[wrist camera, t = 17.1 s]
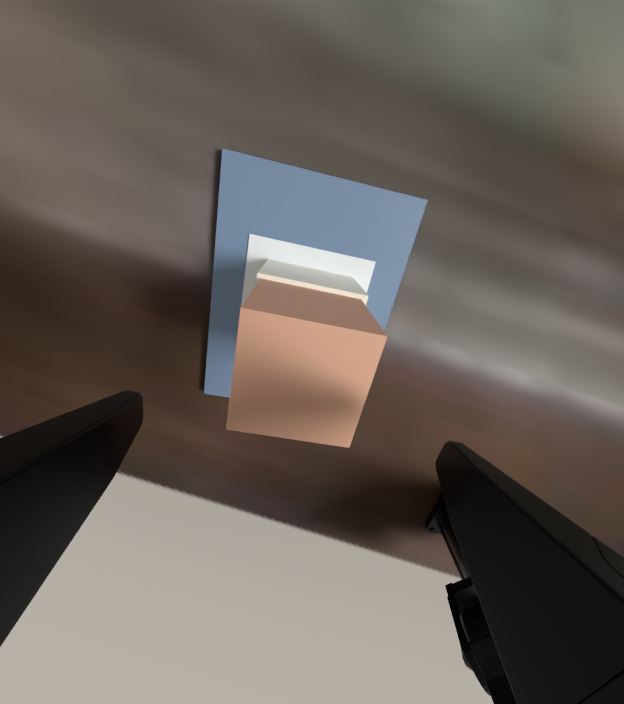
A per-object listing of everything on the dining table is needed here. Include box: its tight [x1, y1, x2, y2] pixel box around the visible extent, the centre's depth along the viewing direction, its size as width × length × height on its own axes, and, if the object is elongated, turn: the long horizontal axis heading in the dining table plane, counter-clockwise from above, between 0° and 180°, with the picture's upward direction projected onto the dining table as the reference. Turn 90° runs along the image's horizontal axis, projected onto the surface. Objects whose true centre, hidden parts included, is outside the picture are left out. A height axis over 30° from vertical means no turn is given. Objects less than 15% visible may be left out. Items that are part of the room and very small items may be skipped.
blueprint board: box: [204, 148, 428, 398], centre depth 20 cm, size 16×12×1 cm
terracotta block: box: [226, 278, 387, 448], centre depth 13 cm, size 5×5×5 cm
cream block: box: [256, 259, 368, 305], centre depth 18 cm, size 6×6×5 cm
